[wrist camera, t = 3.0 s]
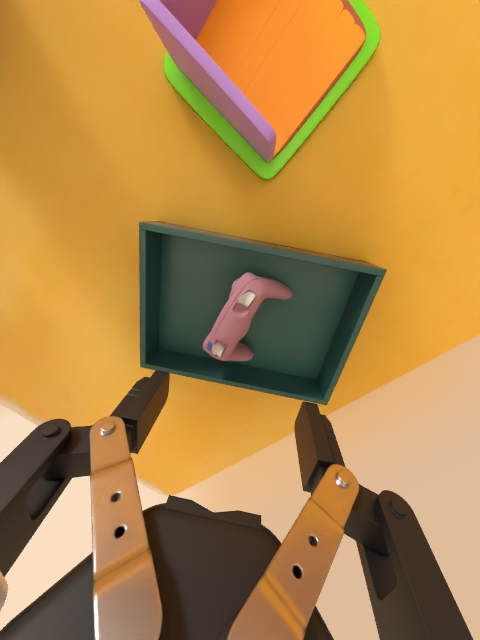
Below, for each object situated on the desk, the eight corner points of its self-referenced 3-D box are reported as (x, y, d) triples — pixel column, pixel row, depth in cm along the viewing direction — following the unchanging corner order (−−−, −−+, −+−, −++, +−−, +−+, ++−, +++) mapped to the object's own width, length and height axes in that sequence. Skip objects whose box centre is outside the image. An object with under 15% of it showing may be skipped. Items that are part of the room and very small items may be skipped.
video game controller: (263, 267, 25) (230, 263, 19) (298, 289, 23) (274, 293, 17) (224, 337, 29) (186, 352, 23) (252, 360, 27) (220, 383, 21)
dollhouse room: (159, 74, 18) (105, -1, 12) (264, -131, 14) (264, -413, 8) (267, 187, 21) (269, 173, 14) (385, 42, 16) (460, -68, 10)
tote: (157, 221, 23) (138, 221, 19) (368, 262, 22) (387, 269, 19) (154, 349, 29) (140, 367, 26) (319, 383, 29) (327, 405, 25)
